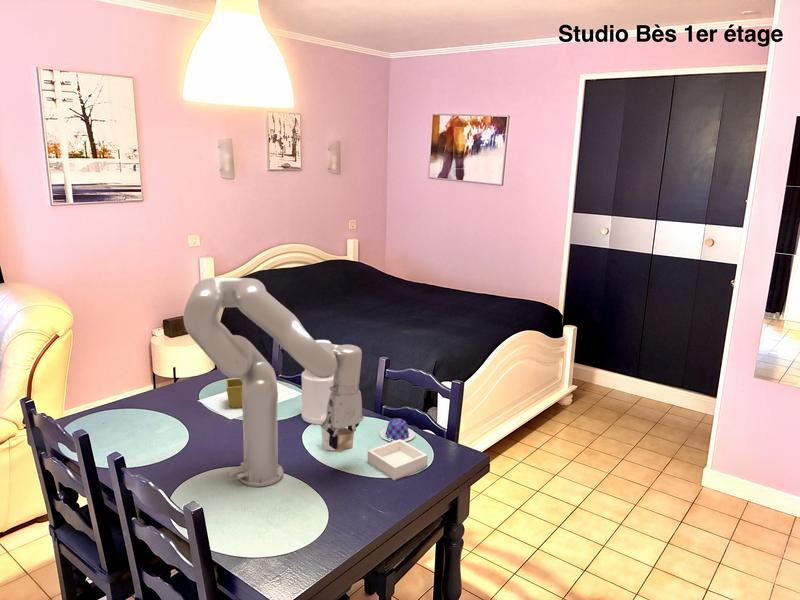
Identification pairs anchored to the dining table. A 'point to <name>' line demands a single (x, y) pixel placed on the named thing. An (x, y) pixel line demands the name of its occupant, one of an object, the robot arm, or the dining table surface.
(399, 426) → the pudding
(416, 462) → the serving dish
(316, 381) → the white bottle
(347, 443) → the beech cube
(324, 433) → the white cup
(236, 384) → the flower pot
